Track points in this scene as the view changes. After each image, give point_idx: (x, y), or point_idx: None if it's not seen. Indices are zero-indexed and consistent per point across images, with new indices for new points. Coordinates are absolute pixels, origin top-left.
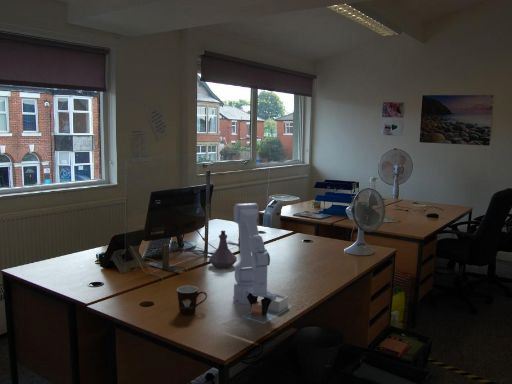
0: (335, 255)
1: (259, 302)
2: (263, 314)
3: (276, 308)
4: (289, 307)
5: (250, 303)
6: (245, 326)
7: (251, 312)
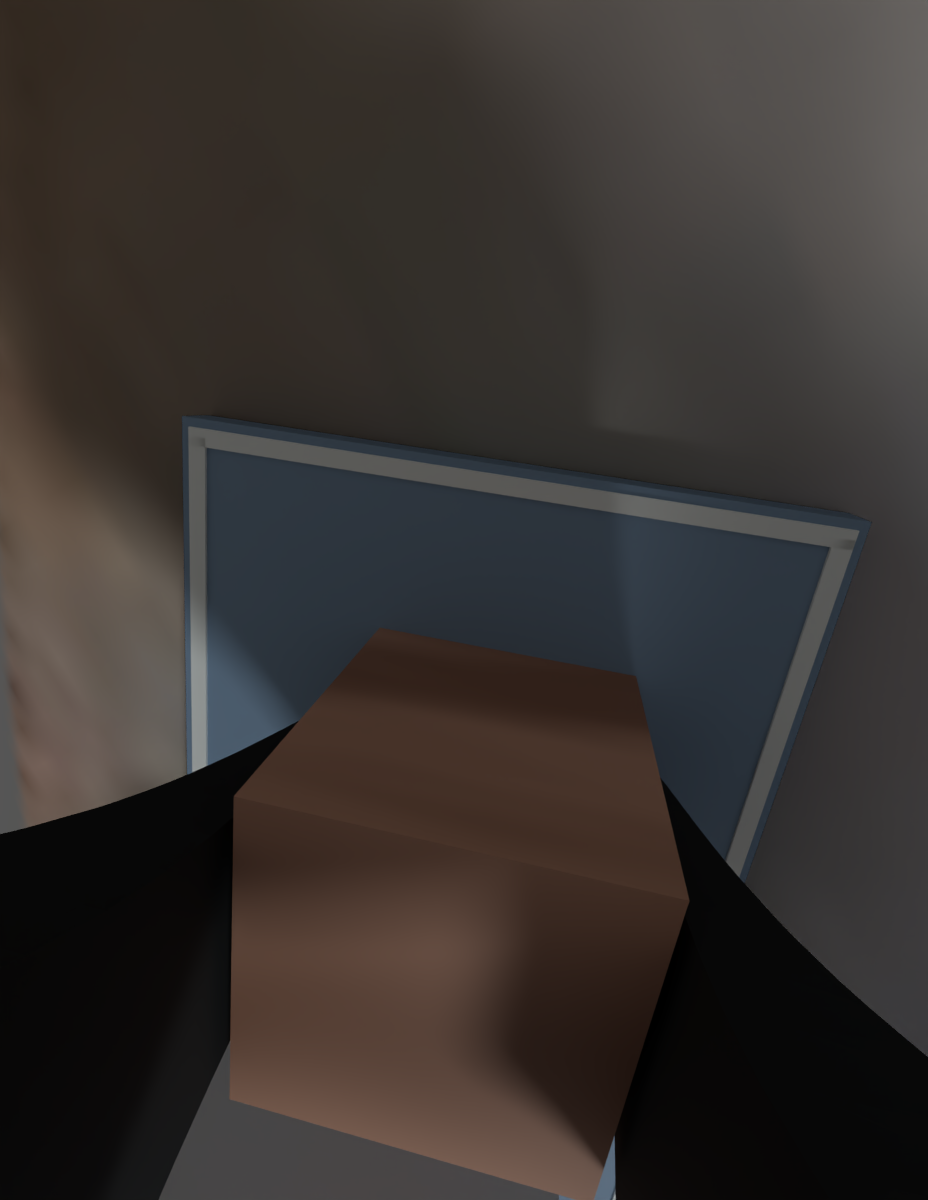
0: None
1: (479, 1100)
2: None
3: None
4: None
5: (782, 954)
6: (560, 111)
7: (714, 835)
